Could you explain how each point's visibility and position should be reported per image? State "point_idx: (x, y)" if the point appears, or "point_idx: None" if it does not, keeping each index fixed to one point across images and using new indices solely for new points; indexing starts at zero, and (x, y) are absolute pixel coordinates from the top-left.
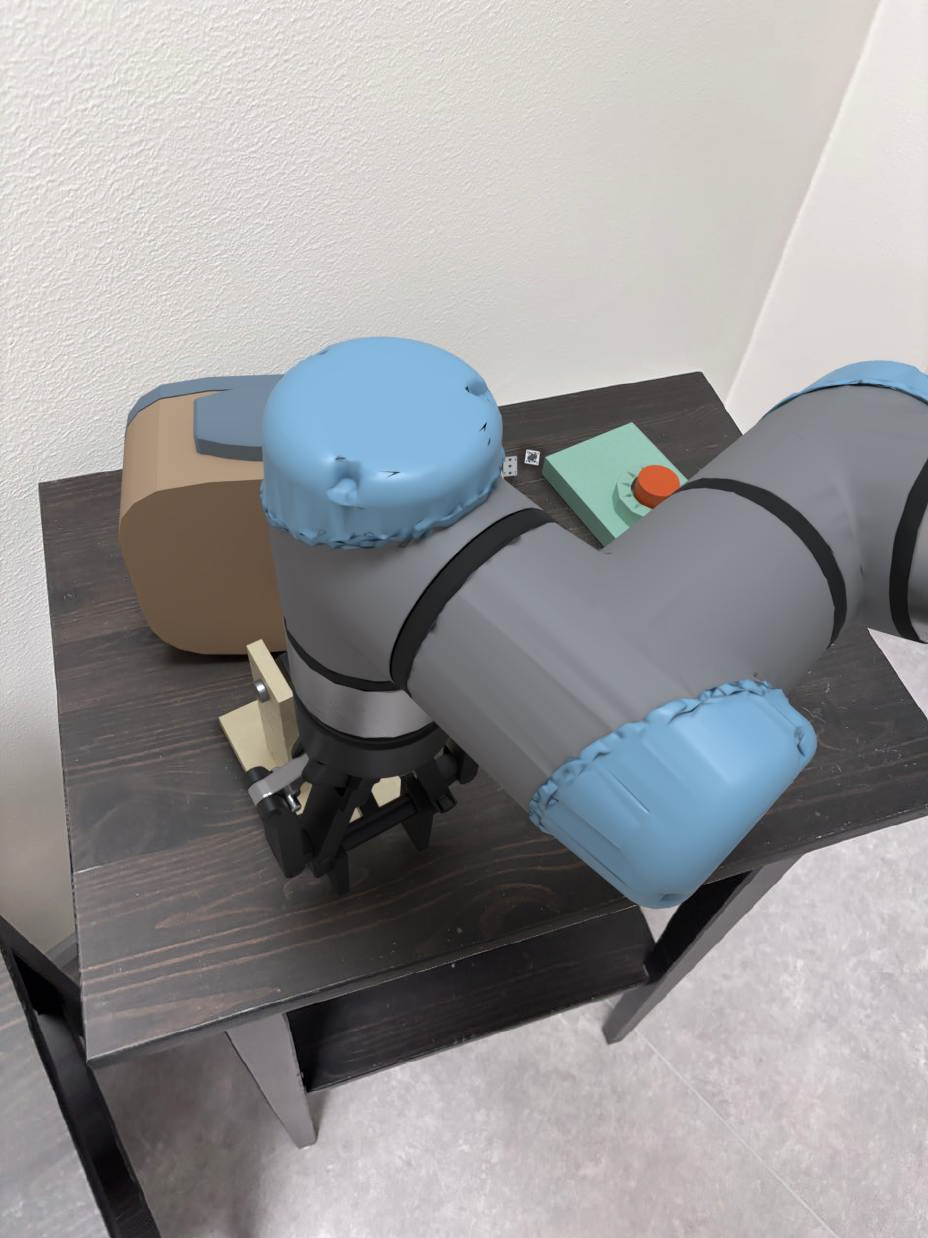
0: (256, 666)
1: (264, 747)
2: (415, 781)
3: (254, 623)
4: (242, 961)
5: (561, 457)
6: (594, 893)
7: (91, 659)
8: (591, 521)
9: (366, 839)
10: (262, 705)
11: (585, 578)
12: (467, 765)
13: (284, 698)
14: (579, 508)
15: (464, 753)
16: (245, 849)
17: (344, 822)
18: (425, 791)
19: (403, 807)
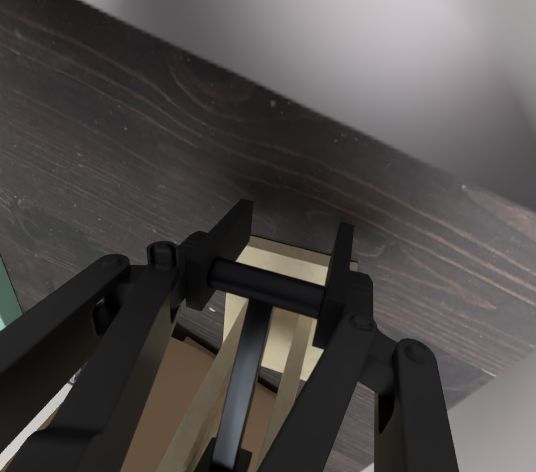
0: None
1: (306, 349)
2: (188, 295)
3: (247, 431)
4: (465, 233)
5: None
6: (132, 32)
7: (359, 451)
8: (1, 290)
9: (289, 282)
10: None
11: None
12: (76, 298)
13: None
14: (7, 302)
15: (32, 347)
16: (379, 300)
17: (303, 421)
18: (180, 283)
19: (222, 281)
